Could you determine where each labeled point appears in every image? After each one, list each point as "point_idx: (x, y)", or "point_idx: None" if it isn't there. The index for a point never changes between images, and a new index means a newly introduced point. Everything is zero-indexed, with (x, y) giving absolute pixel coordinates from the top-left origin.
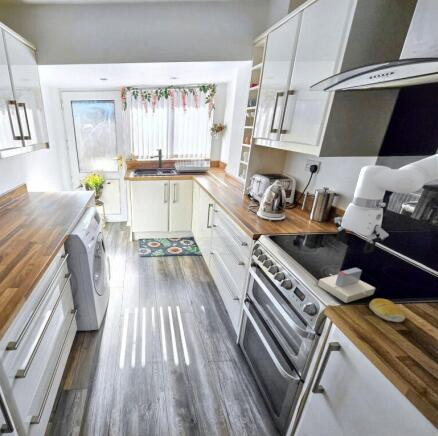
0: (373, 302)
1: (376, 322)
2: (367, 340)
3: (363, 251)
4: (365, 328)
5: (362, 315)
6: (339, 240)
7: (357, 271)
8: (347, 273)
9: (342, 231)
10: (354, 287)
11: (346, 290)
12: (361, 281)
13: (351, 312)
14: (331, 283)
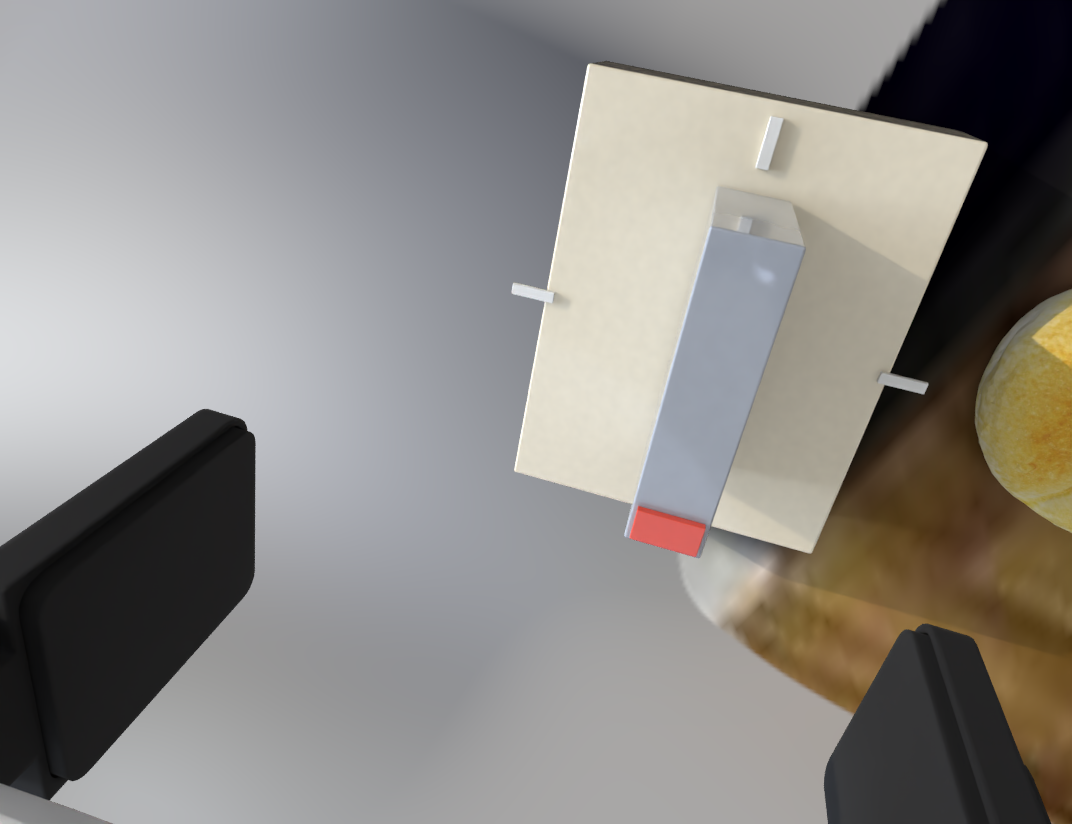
0: (1020, 464)
1: (1065, 580)
2: (1042, 789)
3: (825, 776)
4: (1008, 695)
5: (956, 571)
6: (245, 566)
7: (771, 340)
8: (704, 495)
9: (29, 732)
10: (799, 351)
11: (764, 472)
12: (812, 128)
13: (878, 593)
14: (617, 459)
